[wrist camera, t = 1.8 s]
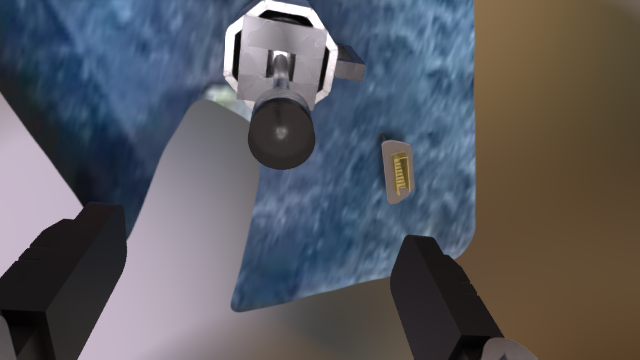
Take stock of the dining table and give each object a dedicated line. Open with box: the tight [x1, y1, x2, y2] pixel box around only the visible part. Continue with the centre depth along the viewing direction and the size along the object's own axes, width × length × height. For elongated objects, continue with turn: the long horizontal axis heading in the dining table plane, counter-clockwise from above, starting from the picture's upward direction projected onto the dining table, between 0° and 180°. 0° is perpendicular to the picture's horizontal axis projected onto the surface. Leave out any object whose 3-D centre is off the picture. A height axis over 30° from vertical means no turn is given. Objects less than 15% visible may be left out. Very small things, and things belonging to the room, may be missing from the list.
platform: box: [382, 135, 414, 204], centre depth 53 cm, size 12×18×7 cm, turn 11°
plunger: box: [248, 17, 315, 170], centre depth 27 cm, size 7×7×18 cm
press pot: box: [224, 0, 366, 110], centre depth 39 cm, size 10×13×15 cm
